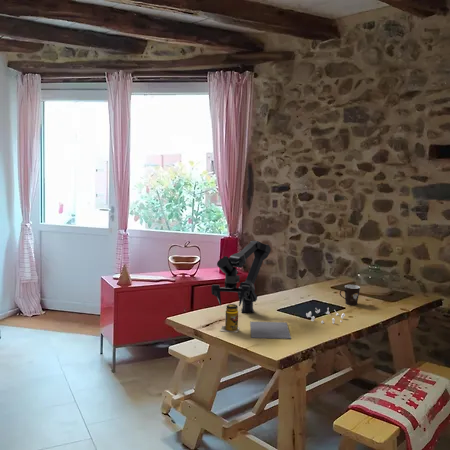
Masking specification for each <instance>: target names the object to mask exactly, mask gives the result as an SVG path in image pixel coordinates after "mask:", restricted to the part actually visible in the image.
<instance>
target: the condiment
mask: <svg viewBox="0 0 450 450" xmlns="http://www.w3.org/2000/svg"><path fill="white" fill-rule="evenodd" d="M238 306H239V305H237V304H235V303H229V304H227V305H226V310H225V318H224V319H225V321H224V322H225V324H224V325H222V326H221V328H220V330H219V331H220V332H226V333H238V332H239V330H240V327H239V311H238V309H239V308H238Z"/></svg>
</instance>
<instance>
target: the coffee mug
mask: <svg viewBox="0 0 450 450" xmlns="http://www.w3.org/2000/svg"><path fill="white" fill-rule="evenodd" d="M360 290H361V287H360V286H359V285H356V284H346V285H344V289H340V291H339V295H340V297H341V298H343V299H344V301H345V305H347V306H357V305H358V301H359V296H360ZM342 292H344V296H343V295H342Z"/></svg>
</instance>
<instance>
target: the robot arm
mask: <svg viewBox="0 0 450 450" xmlns="http://www.w3.org/2000/svg"><path fill="white" fill-rule="evenodd" d="M271 250H272V249H271V246H270V245H269V244H267V243H263V242H261V241H258V240H250V242H249V243H248V244H247V245H246V246H245V247H244V248H243V249H241V250H240V251H239V252H236V253H233V254H231V255H230V256H229V257H228V256H227V255H226V256H225V255H224V256H223V257H222V258H220V259H218V260H217V264H216V265H217V267H218V269H220V271H221V272H222V273H224V274H225V276H224V277H225V278H224V287H220V284H212V285H211V295H212V296H214V297H216V298H217V301H218V303H219V306H221V307H222V298H221V292H227V293H237V296H238V297H237V298H238V300H239V303H238V306H239V307H241V305H242V307H241V309H240V310H241V314H242V313H243V314H244V313H247V314H254V313H255V311H254V303H256V301H257V300H258V295H257V294H256V288H255V284H256V282H257V281H256V280H257V278H258V275H259V273H260V270H261V267H262V265H263V262H264V261H265V260H266V259H267V258H268V257H269V255H270V254H271ZM251 255H254V257H253V260H252V262H251V263H252V264H251V266H250V268H249V271H248V274H247V277H246V279H245V281H241V282H240V279H241V277H240V276H241V275H238V274H239V271H238V269H237V268H241V269H242V268H243V266H244V265H245V264H246V263H247V261H246V260H247V259H248V258H249V257H250V256H251ZM238 283H240V284H239V286H238V287H237V285H238Z"/></svg>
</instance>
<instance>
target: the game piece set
mask: <svg viewBox="0 0 450 450" xmlns="http://www.w3.org/2000/svg"><path fill="white" fill-rule="evenodd" d="M314 308H315V313H316V314H319V313H321V309H318V308H317V307H314ZM326 309H327V311H326V314H327V315H329V314H331V313H330V312H331V311H329V309H330V308H329V307H327V308H326ZM334 312H335V313H336V314H335V316H340V314H339V313H338V312H337V311H336V310H334ZM305 315H306V317H307V318H311V322H315V318H316V317H315V316H314V315H313V316H312V311H309V312H306V313H305ZM344 317H346V314H345V312H344V313H342V314H341V316H340V318H341V319H342V320H341V319H339V321H340V323H343V319H344ZM335 320H336V319H335V317H332V319H331V321H332V324H335ZM320 323H321V324H324V323H325V321H324V320H323V319H322V320H321V321H320Z"/></svg>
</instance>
